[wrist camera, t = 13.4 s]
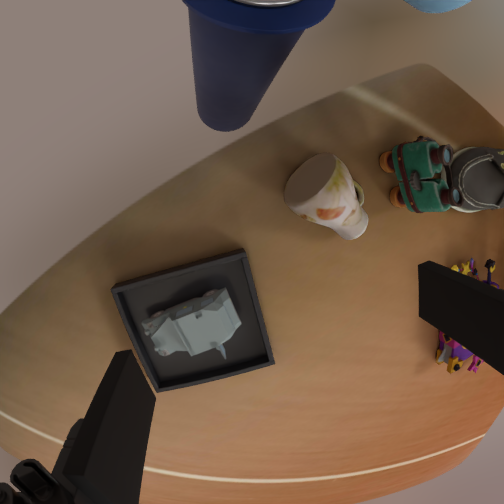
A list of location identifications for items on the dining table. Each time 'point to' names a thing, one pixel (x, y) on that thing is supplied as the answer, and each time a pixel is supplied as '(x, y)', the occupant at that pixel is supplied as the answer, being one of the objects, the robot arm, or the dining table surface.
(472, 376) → the dining table surface
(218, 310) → the toy car
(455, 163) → the boat shoe
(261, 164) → the dining table surface
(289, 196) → the mug
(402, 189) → the binoculars
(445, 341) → the purple toy
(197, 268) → the tray
